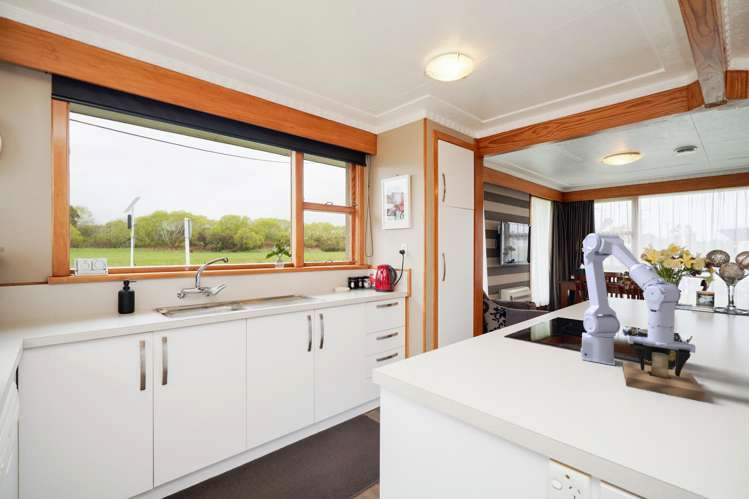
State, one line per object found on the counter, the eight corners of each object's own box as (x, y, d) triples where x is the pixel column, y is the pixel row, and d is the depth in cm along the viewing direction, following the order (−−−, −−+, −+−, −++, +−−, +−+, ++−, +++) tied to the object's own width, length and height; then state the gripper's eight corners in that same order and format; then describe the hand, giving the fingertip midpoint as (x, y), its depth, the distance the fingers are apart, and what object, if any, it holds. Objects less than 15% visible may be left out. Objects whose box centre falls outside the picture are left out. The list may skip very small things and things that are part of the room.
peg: (651, 384, 95) (652, 354, 95) (650, 380, 98) (651, 351, 98) (668, 387, 93) (669, 357, 93) (667, 383, 96) (667, 354, 96)
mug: (675, 363, 114) (676, 333, 114) (662, 367, 110) (663, 336, 110) (635, 353, 124) (636, 326, 124) (622, 356, 120) (623, 328, 120)
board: (626, 385, 93) (626, 377, 93) (623, 369, 107) (623, 361, 107) (704, 401, 84) (705, 392, 84) (690, 381, 98) (690, 373, 98)
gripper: (630, 324, 96) (628, 370, 96) (698, 332, 88) (697, 383, 88) (628, 320, 102) (627, 363, 102) (692, 327, 94) (691, 374, 94)
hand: (659, 372), depth 95 cm, fingers open, 7 cm apart
